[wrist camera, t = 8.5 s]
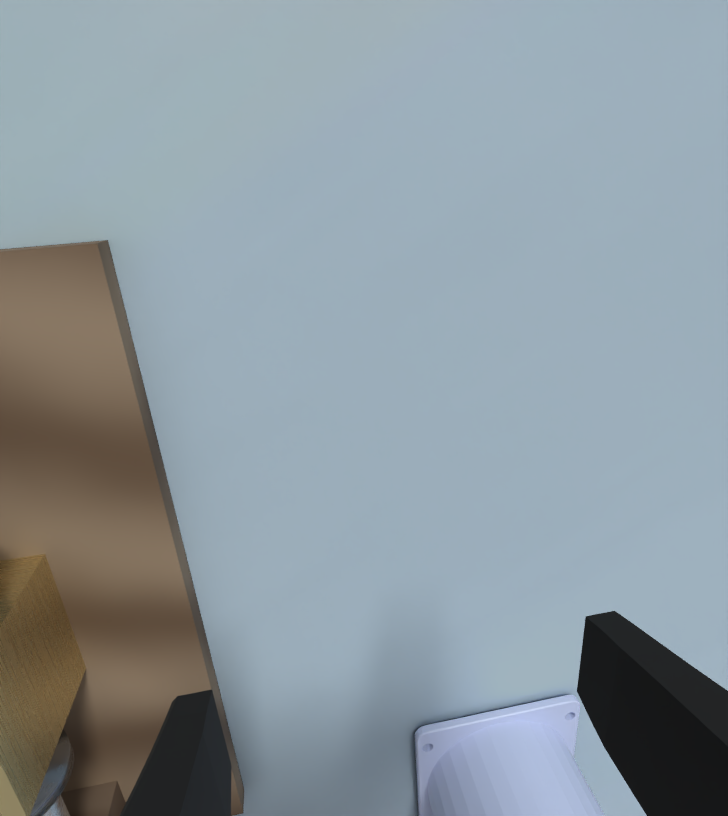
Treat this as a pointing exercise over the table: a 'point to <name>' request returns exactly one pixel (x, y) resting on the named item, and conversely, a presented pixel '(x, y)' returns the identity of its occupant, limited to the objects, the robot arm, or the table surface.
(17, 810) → the wooden block
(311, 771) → the table surface
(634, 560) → the table surface
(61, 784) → the shafts
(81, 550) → the shaft bench
